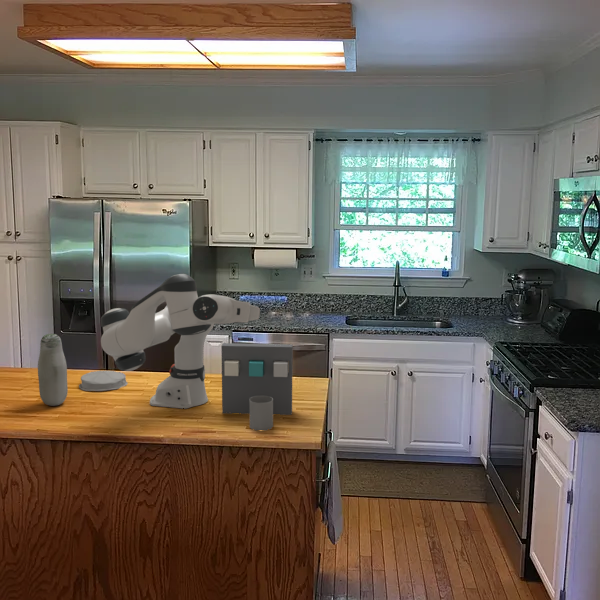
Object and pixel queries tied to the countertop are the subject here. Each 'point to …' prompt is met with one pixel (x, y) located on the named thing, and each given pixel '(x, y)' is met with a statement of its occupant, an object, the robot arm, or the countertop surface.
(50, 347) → the grey bottle
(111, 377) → the food container
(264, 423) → the cup
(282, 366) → the light grey push-block
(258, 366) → the teal push-block
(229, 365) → the cream push-block
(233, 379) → the button panel
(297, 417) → the countertop surface
